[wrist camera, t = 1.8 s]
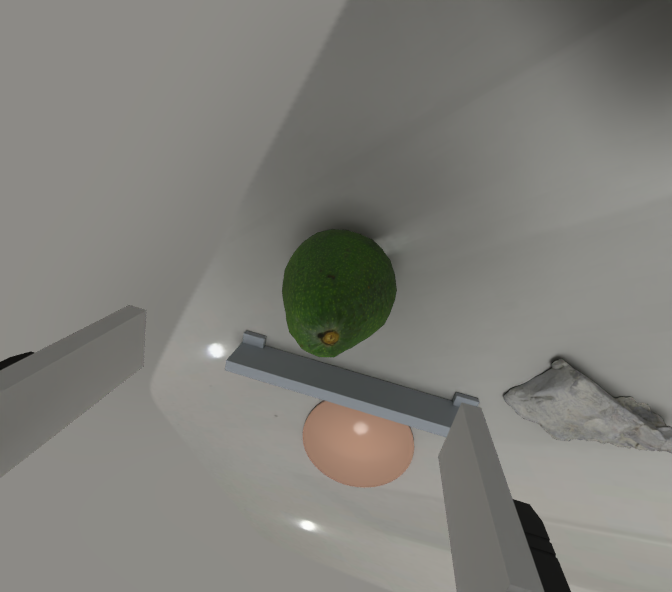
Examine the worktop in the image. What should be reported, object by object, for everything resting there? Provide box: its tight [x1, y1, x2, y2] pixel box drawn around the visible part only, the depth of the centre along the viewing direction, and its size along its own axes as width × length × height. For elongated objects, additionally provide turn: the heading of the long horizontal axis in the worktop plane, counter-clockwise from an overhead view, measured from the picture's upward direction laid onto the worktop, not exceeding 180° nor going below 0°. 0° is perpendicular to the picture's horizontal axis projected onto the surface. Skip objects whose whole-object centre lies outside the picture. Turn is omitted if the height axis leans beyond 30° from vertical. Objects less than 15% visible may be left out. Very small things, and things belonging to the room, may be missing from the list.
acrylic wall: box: [225, 330, 479, 437], centre depth 32 cm, size 3×22×4 cm, turn 77°
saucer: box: [303, 400, 414, 487], centre depth 36 cm, size 11×11×1 cm
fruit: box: [282, 229, 397, 357], centre depth 25 cm, size 8×8×12 cm
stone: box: [504, 359, 672, 453], centre depth 30 cm, size 6×12×4 cm, turn 63°
